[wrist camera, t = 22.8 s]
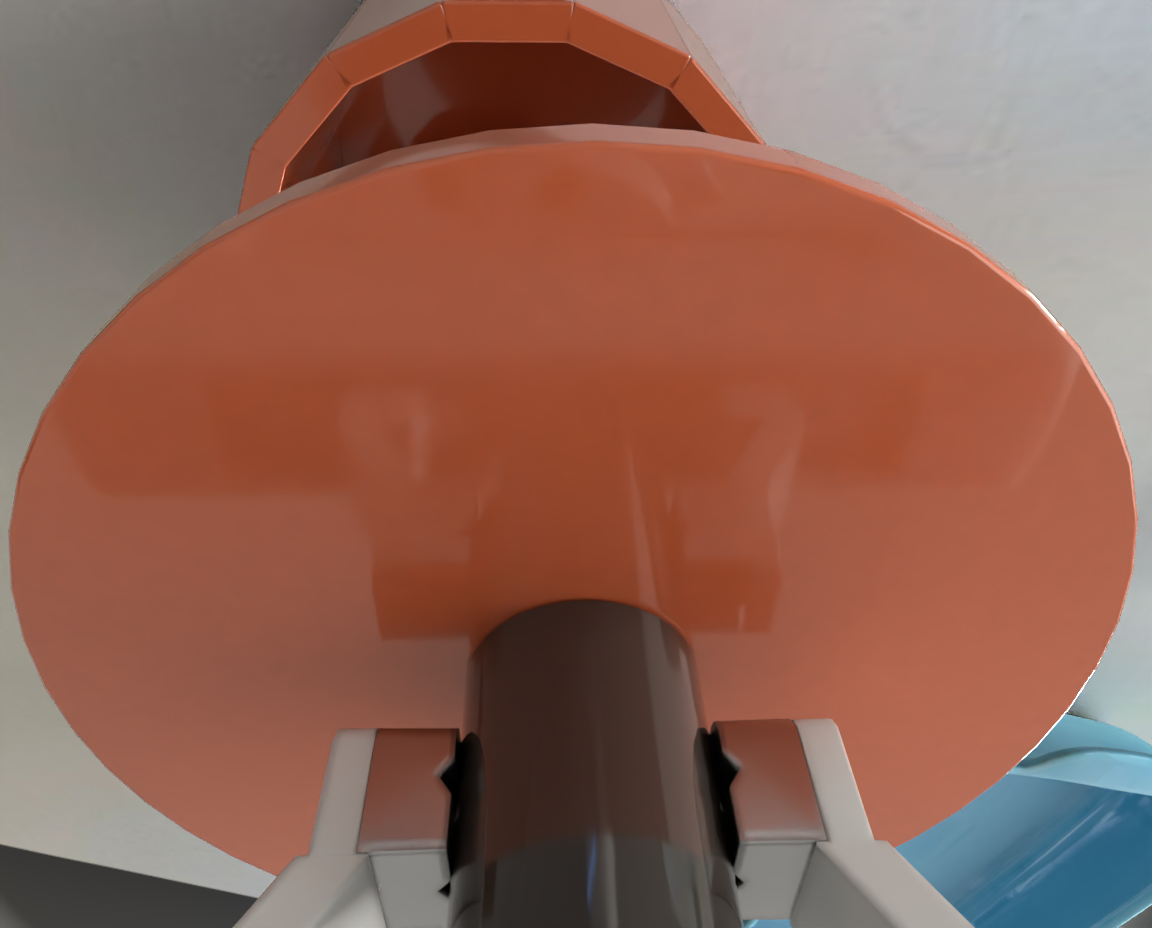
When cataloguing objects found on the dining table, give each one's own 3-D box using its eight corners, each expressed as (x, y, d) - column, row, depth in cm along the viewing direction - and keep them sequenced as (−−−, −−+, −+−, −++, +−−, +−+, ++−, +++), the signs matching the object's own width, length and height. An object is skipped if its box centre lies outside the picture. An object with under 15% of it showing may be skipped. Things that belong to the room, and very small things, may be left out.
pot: (360, 393, 36) (307, 578, 28) (265, -188, 24) (126, -167, 16) (693, 390, 37) (740, 571, 28) (757, -181, 25) (867, -157, 17)
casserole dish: (899, 966, 71) (930, 1069, 65) (636, 935, 66) (645, 1044, 60) (1238, 680, 50) (1327, 796, 44) (887, 605, 45) (937, 724, 39)
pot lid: (200, 876, 18) (84, 1256, 13) (-174, 100, 9) (-962, 457, 4) (934, 856, 18) (1067, 1216, 14) (1308, 104, 9) (2068, 428, 5)
